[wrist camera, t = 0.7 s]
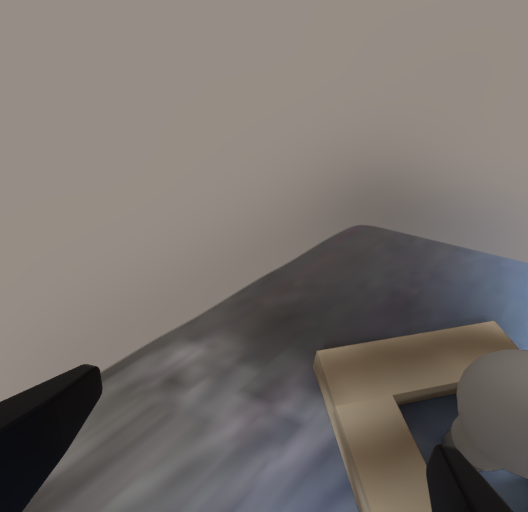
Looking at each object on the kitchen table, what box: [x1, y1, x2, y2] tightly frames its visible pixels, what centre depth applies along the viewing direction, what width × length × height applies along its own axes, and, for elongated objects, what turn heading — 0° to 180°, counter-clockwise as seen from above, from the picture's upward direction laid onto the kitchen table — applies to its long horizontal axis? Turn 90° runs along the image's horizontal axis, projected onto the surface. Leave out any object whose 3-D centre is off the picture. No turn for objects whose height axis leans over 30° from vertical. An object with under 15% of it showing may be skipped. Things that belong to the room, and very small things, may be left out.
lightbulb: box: [443, 349, 528, 479], centre depth 17 cm, size 6×6×11 cm
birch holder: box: [313, 321, 519, 512], centre depth 20 cm, size 16×16×2 cm
